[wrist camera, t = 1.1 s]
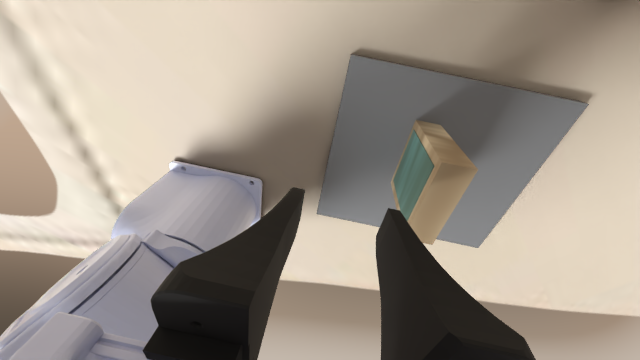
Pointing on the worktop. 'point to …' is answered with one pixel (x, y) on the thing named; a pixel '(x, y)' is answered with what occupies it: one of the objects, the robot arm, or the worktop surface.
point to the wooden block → (430, 179)
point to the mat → (458, 121)
